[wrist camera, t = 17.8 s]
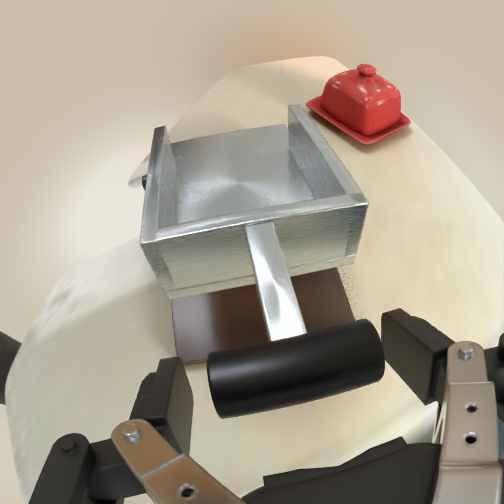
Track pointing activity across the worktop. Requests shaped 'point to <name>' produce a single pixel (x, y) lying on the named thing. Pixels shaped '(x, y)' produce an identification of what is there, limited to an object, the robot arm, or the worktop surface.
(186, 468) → the robot arm
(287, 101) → the worktop surface
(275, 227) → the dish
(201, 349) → the stand
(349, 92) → the butter dish
